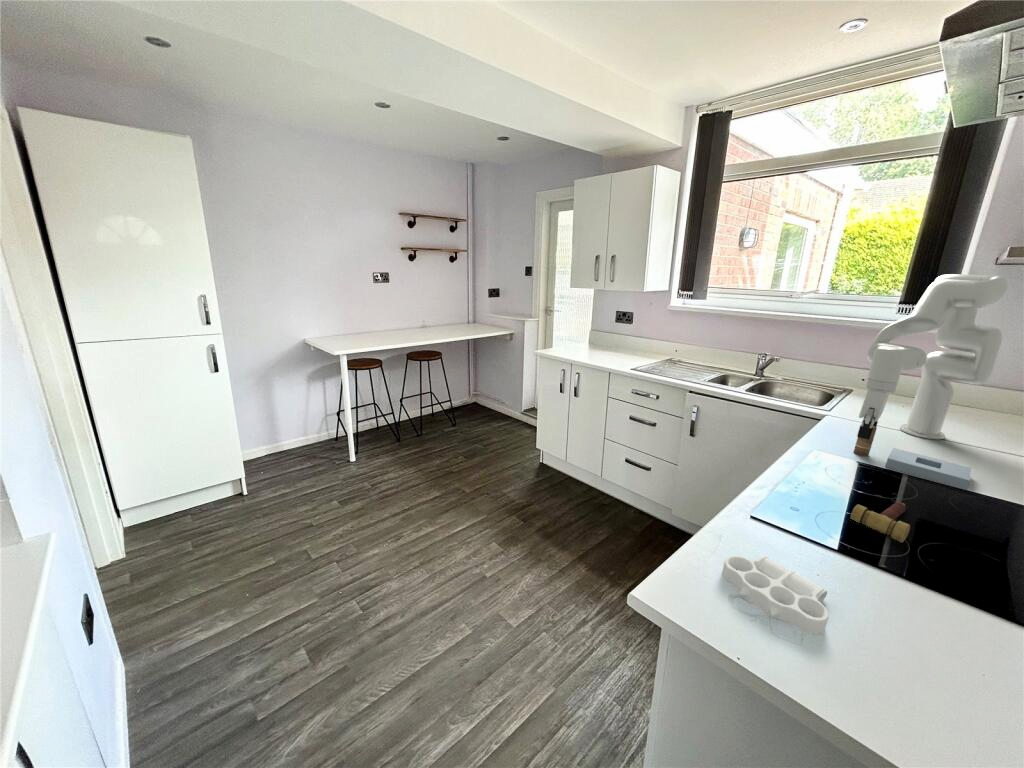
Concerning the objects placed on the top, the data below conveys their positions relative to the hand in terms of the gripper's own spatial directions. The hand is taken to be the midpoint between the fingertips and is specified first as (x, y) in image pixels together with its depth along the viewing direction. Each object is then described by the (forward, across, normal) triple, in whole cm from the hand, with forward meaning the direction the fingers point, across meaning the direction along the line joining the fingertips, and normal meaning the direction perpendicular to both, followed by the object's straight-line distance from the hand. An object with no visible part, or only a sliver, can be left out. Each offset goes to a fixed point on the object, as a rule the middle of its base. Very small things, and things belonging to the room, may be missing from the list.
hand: (865, 434), depth 140 cm
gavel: (+8, +42, +12) cm, 45 cm away
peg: (+7, -1, 0) cm, 7 cm away
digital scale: (+7, -1, +16) cm, 18 cm away
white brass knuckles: (+9, +92, +1) cm, 93 cm away
